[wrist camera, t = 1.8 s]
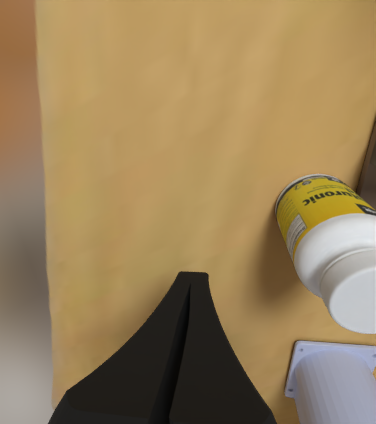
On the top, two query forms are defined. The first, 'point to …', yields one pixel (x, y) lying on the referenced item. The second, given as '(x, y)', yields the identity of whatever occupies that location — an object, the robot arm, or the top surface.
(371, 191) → the bottle rest
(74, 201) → the top surface
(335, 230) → the supplement bottle
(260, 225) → the top surface
